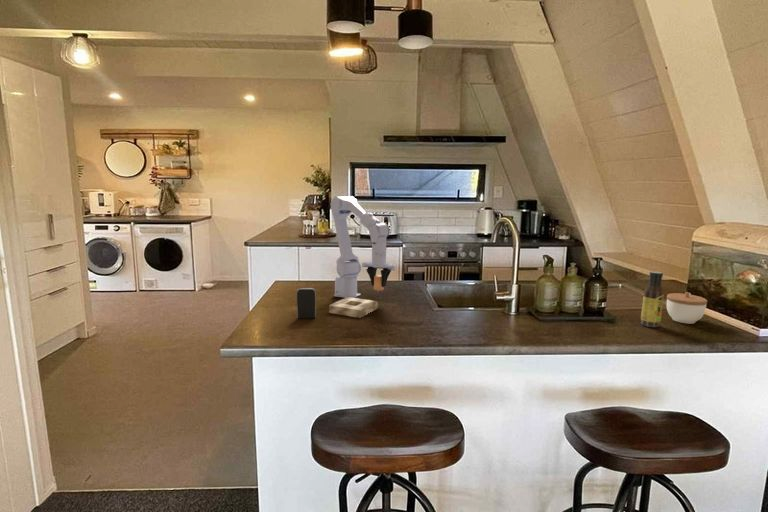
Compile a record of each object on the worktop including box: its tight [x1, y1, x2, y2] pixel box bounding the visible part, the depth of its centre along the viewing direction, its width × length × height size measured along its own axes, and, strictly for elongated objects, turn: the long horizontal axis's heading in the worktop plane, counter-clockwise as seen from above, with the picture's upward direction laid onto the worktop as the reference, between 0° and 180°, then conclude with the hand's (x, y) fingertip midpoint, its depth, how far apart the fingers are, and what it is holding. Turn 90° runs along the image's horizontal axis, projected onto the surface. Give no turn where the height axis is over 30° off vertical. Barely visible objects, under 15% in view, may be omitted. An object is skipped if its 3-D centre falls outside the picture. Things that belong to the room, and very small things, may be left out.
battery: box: [296, 287, 317, 320], centre depth 166 cm, size 7×4×11 cm, turn 95°
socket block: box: [328, 297, 379, 319], centre depth 176 cm, size 14×14×3 cm
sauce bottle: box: [640, 270, 665, 328], centre depth 161 cm, size 6×6×20 cm
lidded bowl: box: [666, 291, 708, 325], centre depth 168 cm, size 13×13×11 cm
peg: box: [373, 274, 385, 291], centre depth 182 cm, size 4×4×6 cm
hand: (378, 285), depth 182 cm, fingers closed on peg, 4 cm apart
